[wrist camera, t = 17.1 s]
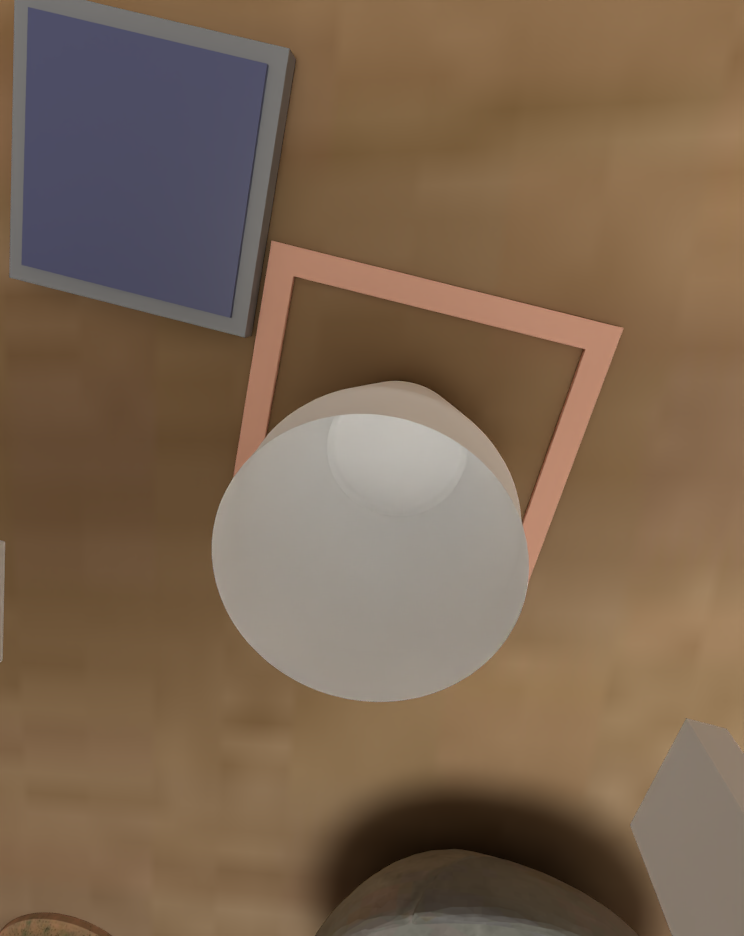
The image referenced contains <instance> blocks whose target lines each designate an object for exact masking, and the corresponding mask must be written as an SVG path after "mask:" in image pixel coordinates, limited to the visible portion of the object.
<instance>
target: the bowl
mask: <svg viewBox="0 0 744 936" xmlns="http://www.w3.org/2000/svg"><path fill="white" fill-rule="evenodd" d="M315 936H639V935H638V934H637V933H636V932H635V931H634V930H633V929H632V928H631V927H630V926H629V925H627V924H626V923H625V922H624V921H623V920H622V919H621V918H620V917H618V916H617V915H616V914H615V913H613V912H612V911H611V910H609V909H608V908H607V907H605V906H604V905H602V904H600V903H599V902H597V901H596V900H594V899H593V898H591V897H590V896H588V895H586V894H585V893H583V892H582V891H580V890H578V889H576V888H574V887H572V886H570V885H568V884H566V883H564V882H562V881H560V880H558V879H556V878H554V877H551V876H549V875H547V874H545V873H542V872H540V871H537V870H535V869H532V868H529V867H527V866H524V865H521V864H518V863H515V862H512V861H509V860H505V859H501V858H497V857H493V856H490V855H486V854H482V853H478V852H473V851H467V850H461V849H446V850H432V851H427V852H422V853H418V854H414V855H412V856H409V857H407V858H404V859H401V860H399V861H396V862H394V863H392V864H391V865H389V866H387V867H385V868H384V869H382V870H381V871H379V872H378V873H376V874H374V875H372V876H371V877H370V878H368V879H367V880H366V881H364V882H363V883H362V884H361V885H359V886H358V887H357V888H356V889H355V890H354V891H353V892H352V893H351V894H350V895H349V896H348V897H347V898H345V899H344V900H343V901H342V902H341V903H340V904H339V905H338V906H337V907H336V908H335V909H334V911H333V912H332V913H331V914H330V916H329V917H328V918H327V919H326V921H325V922H324V923H323V925H322V926H321V928H320V929H319V930H318V932H317V933H316V935H315Z"/></svg>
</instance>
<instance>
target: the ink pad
mask: <svg viewBox="0 0 744 936" xmlns="http://www.w3.org/2000/svg"><path fill="white" fill-rule="evenodd" d="M295 61H296V58H295V57H294V55H293V54H292V52H291V50H290V49H289V48H285V47H280V46H276V45H272V44H268V43H263V42H259V41H255V40H251V39H246V38H242V37H238V36H234V35H230V34H225V33H221V32H217V31H213V30H208V29H204V28H200V27H196V26H191V25H187V24H183V23H179V22H175V21H170V20H166V19H162V18H158V17H153V16H149V15H145V14H141V13H136V12H132V11H128V10H124V9H120V8H115V7H111V6H107V5H103V4H98V3H94V2H90V1H86V0H15V6H14V60H13V113H12V166H11V219H10V273H9V277H10V278H14V279H17V280H21V281H25V282H29V283H33V284H37V285H41V286H45V287H49V288H53V289H57V290H61V291H65V292H68V293H72V294H76V295H80V296H84V297H88V298H92V299H96V300H100V301H104V302H108V303H112V304H115V305H119V306H123V307H127V308H131V309H135V310H139V311H143V312H147V313H151V314H155V315H159V316H163V317H166V318H170V319H174V320H178V321H182V322H186V323H190V324H194V325H198V326H202V327H206V328H210V329H213V330H217V331H221V332H225V333H229V334H233V335H237V336H241V337H248V336H252V330H253V324H254V318H255V311H256V305H257V299H258V293H259V286H260V280H261V274H262V268H263V261H264V255H265V249H266V243H267V236H268V230H269V224H270V218H271V211H272V205H273V199H274V193H275V186H276V180H277V174H278V168H279V161H280V155H281V149H282V143H283V136H284V130H285V124H286V118H287V111H288V105H289V99H290V93H291V86H292V80H293V74H294V68H295Z"/></svg>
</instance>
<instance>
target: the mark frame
mask: <svg viewBox="0 0 744 936" xmlns="http://www.w3.org/2000/svg"><path fill="white" fill-rule="evenodd" d="M295 277H299V278H303V279H307V280H311V281H315V282H319V283H323V284H327V285H331V286H335V287H339V288H343V289H347V290H351V291H355V292H359V293H363V294H367V295H371V296H375V297H379V298H383V299H387V300H391V301H395V302H399V303H403V304H407V305H411V306H415V307H419V308H423V309H427V310H431V311H435V312H439V313H443V314H447V315H451V316H455V317H459V318H463V319H467V320H471V321H475V322H479V323H483V324H487V325H491V326H495V327H499V328H503V329H507V330H511V331H515V332H519V333H523V334H527V335H531V336H534V337H538V338H542V339H546V340H550V341H554V342H558V343H562V344H566V345H570V346H574V347H578V348H582V349H584V350H583V352H582V355H581V358H580V361H579V364H578V366H577V369H576V372H575V375H574V378H573V380H572V383H571V386H570V389H569V392H568V395H567V397H566V400H565V403H564V406H563V409H562V411H561V414H560V417H559V420H558V423H557V425H556V428H555V431H554V434H553V437H552V439H551V442H550V445H549V448H548V451H547V454H546V456H545V459H544V462H543V465H542V468H541V470H540V473H539V476H538V479H537V482H536V484H535V487H534V490H533V493H532V496H531V499H530V501H529V504H528V507H527V510H526V513H525V515H524V518H523V521H522V525H523V529H524V533H525V537H526V541H527V548H528V555H529V576H528V582H529V579H530V577H531V574H532V571H533V569H534V566H535V563H536V561H537V558H538V555H539V553H540V550H541V547H542V545H543V542H544V539H545V537H546V534H547V531H548V529H549V526H550V523H551V521H552V518H553V515H554V513H555V510H556V507H557V505H558V502H559V499H560V497H561V494H562V491H563V489H564V486H565V483H566V481H567V478H568V475H569V473H570V470H571V467H572V465H573V462H574V459H575V457H576V454H577V451H578V449H579V446H580V443H581V441H582V438H583V435H584V432H585V430H586V427H587V424H588V422H589V419H590V416H591V414H592V411H593V408H594V406H595V403H596V400H597V398H598V395H599V392H600V390H601V387H602V384H603V382H604V379H605V376H606V374H607V371H608V368H609V366H610V363H611V360H612V358H613V355H614V352H615V350H616V347H617V344H618V342H619V339H620V336H621V334H622V331H623V328H621V327H617V326H613V325H609V324H605V323H601V322H597V321H593V320H589V319H585V318H581V317H577V316H573V315H569V314H565V313H561V312H557V311H553V310H549V309H545V308H541V307H537V306H533V305H529V304H525V303H521V302H516V301H512V300H508V299H504V298H500V297H496V296H492V295H488V294H484V293H480V292H476V291H472V290H468V289H464V288H460V287H456V286H452V285H448V284H444V283H440V282H436V281H432V280H428V279H424V278H420V277H416V276H412V275H408V274H404V273H400V272H396V271H392V270H388V269H384V268H380V267H376V266H372V265H368V264H364V263H360V262H356V261H352V260H348V259H344V258H340V257H335V256H331V255H327V254H323V253H319V252H315V251H311V250H307V249H303V248H299V247H295V246H291V245H287V244H283V243H279V242H275V241H272V242H271V248H270V254H269V260H268V266H267V272H266V279H265V285H264V291H263V297H262V303H261V309H260V315H259V322H258V328H257V334H256V340H255V346H254V352H253V358H252V365H251V371H250V377H249V383H248V389H247V395H246V402H245V408H244V414H243V420H242V426H241V432H240V438H239V445H238V451H237V457H236V463H235V469H234V475H233V477H234V476H235V475H236V473H237V472H238V471H239V469H240V468H241V467H242V466H243V464H244V463H245V462H246V461H247V460H248V459H249V458H250V457H251V456H252V455H253V453H254V452H255V451H256V450H257V448H258V447H259V446H260V444H261V443H262V442H263V440H264V439H265V438H266V436H267V430H268V425H269V419H270V414H271V408H272V402H273V397H274V391H275V386H276V380H277V374H278V369H279V363H280V358H281V352H282V347H283V341H284V335H285V330H286V324H287V319H288V313H289V307H290V302H291V296H292V291H293V285H294V280H295Z"/></svg>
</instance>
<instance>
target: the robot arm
mask: <svg viewBox="0 0 744 936" xmlns="http://www.w3.org/2000/svg"><path fill="white" fill-rule="evenodd" d="M4 572H5V542H4V541H1V540H0V662H1V661H2V660H3V619H4ZM630 826H631V829H632V832H633V834H634V837H635V839H636V842H637V845H638V847H639V850H640V853H641V855H642V858H643V861H644V863H645V866H646V868H647V871H648V874H649V876H650V879H651V882H652V884H653V887H654V890H655V892H656V895H657V897H658V900H659V903H660V905H661V908H662V911H663V913H664V916H665V919H666V921H667V924H668V926H669V929H670V932H671V934H672V936H744V753H743V752H742V750H741V749H740V747H739V746H738V744H737V743H736V742H735V740H734V739H733V737H732V736H731V734H730V733H729V731H728V730H727V729H726V728H722V727H718V726H714V725H710V724H706V723H703V722H699V721H695V720H691V719H687V718H686V720H685V722H684V723H683V725H682V727H681V729H680V731H679V733H678V735H677V737H676V739H675V740H674V742H673V744H672V746H671V748H670V750H669V752H668V754H667V756H666V758H665V759H664V761H663V763H662V765H661V767H660V769H659V771H658V773H657V775H656V776H655V778H654V780H653V782H652V784H651V786H650V788H649V790H648V792H647V794H646V795H645V797H644V799H643V801H642V803H641V805H640V807H639V809H638V811H637V813H636V814H635V816H634V818H633V820H632V822H631V824H630Z"/></svg>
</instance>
